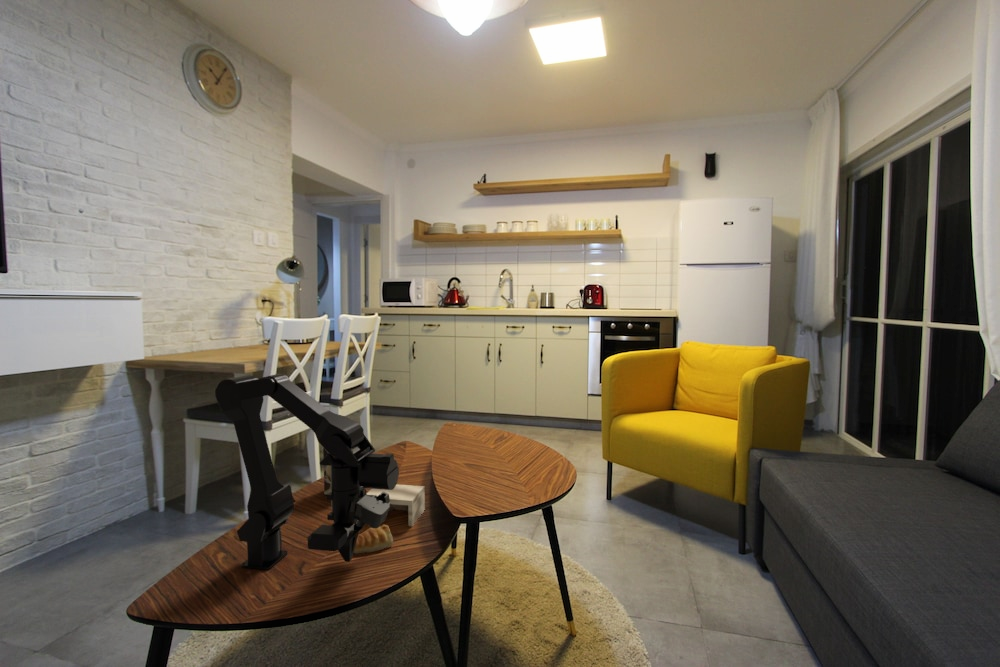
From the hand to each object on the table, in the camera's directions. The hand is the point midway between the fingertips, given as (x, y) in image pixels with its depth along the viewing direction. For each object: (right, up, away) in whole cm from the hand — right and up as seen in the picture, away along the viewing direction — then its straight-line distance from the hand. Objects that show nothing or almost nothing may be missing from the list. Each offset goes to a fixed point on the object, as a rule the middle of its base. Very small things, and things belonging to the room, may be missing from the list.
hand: (348, 560), depth 91 cm
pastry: (+2, -2, +9) cm, 10 cm away
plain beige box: (+4, 0, +23) cm, 24 cm away
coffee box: (-15, 0, +39) cm, 42 cm away
